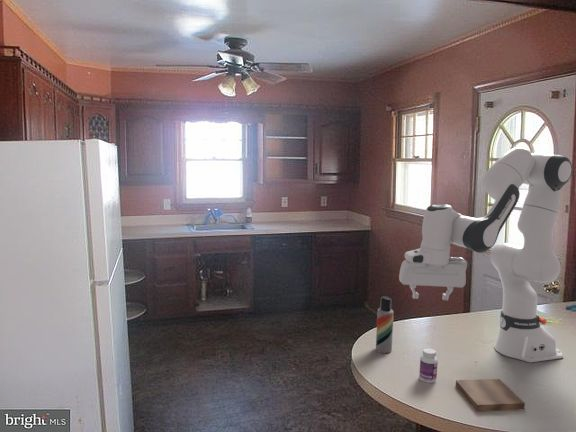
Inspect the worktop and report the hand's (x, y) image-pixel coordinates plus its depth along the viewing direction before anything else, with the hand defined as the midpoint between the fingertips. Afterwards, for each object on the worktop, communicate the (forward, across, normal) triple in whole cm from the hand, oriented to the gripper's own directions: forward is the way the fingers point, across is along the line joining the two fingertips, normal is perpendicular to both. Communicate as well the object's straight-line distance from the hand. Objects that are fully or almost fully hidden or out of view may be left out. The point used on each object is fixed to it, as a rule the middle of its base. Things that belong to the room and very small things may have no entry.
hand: (430, 299), depth 151 cm
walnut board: (+26, -16, +12) cm, 33 cm away
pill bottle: (+26, -1, +2) cm, 26 cm away
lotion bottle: (+26, +9, -20) cm, 34 cm away
